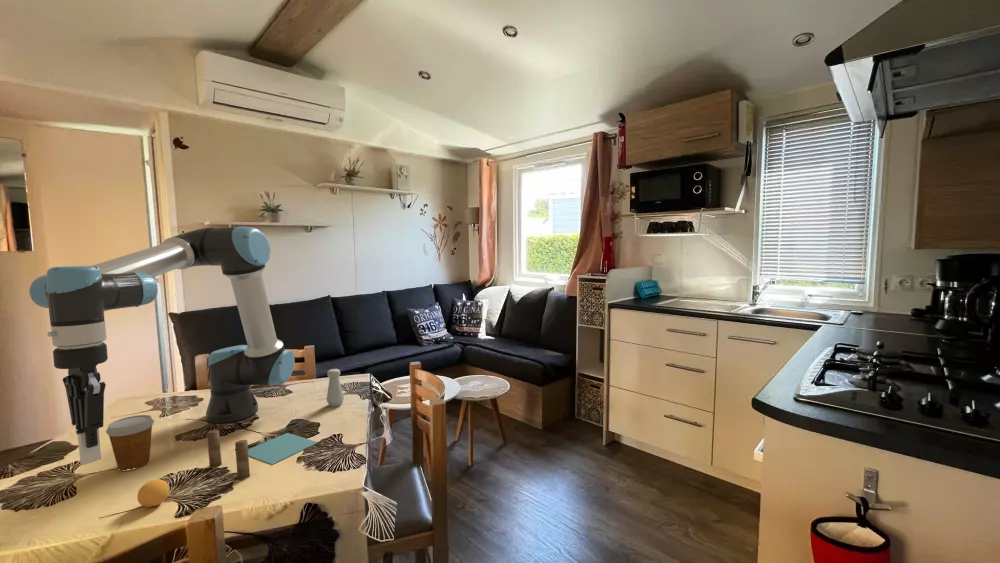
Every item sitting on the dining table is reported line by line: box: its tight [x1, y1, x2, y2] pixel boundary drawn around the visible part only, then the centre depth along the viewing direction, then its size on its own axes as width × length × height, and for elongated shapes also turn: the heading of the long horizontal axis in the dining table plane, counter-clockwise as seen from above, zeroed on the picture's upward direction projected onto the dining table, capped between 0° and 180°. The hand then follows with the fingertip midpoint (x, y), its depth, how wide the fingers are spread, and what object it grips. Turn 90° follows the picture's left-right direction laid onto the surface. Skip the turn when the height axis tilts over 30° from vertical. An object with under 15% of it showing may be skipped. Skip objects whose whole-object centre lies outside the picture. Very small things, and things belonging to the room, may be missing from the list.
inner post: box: [206, 429, 223, 468], centre depth 111 cm, size 3×3×9 cm
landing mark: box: [248, 432, 319, 466], centre depth 121 cm, size 14×14×1 cm
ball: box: [136, 478, 170, 508], centre depth 94 cm, size 6×6×6 cm
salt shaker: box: [326, 368, 345, 408], centre depth 153 cm, size 6×6×13 cm
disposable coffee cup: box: [105, 414, 155, 470], centre depth 112 cm, size 10×10×12 cm
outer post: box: [234, 439, 251, 480], centre depth 105 cm, size 3×3×9 cm
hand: (90, 461), depth 85 cm, fingers closed
